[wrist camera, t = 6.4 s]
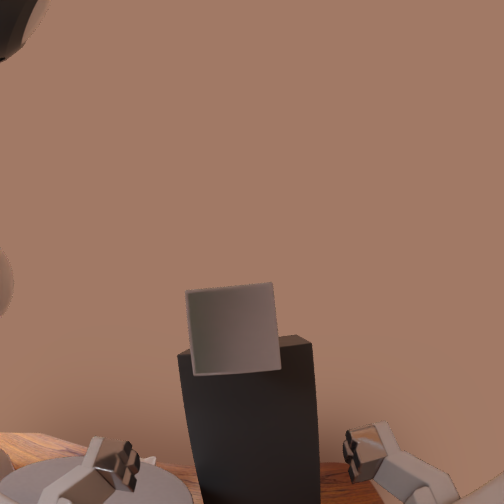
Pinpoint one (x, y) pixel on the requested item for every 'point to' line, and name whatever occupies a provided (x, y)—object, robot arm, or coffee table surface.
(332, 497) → the coffee table surface
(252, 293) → the green long square bar
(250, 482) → the pedestal
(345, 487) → the coffee table surface
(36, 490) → the stock pot
